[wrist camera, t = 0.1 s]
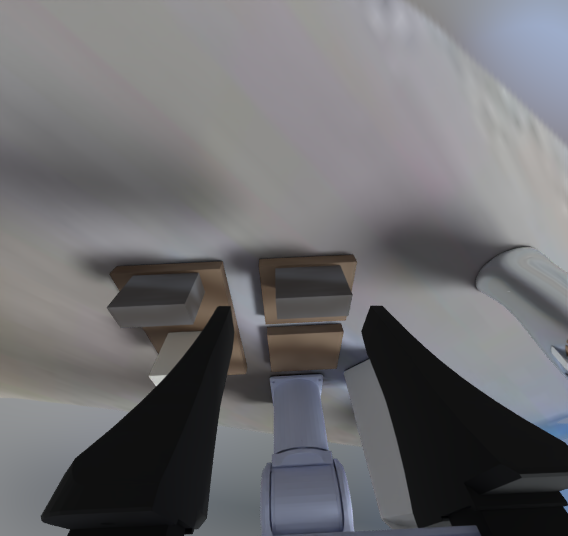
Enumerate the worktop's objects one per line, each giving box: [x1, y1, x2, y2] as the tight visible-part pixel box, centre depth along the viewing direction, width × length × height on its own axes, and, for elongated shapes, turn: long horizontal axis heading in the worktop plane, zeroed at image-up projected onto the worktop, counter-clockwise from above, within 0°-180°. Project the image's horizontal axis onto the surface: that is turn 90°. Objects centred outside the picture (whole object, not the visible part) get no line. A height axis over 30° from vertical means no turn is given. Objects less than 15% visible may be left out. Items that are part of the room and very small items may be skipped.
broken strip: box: [259, 255, 357, 372], centre depth 25 cm, size 18×9×5 cm, turn 2°
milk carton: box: [344, 359, 418, 529], centre depth 26 cm, size 7×7×19 cm
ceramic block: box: [149, 331, 201, 386], centre depth 25 cm, size 5×5×5 cm
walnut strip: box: [107, 261, 247, 375], centre depth 25 cm, size 18×10×5 cm, turn 2°
